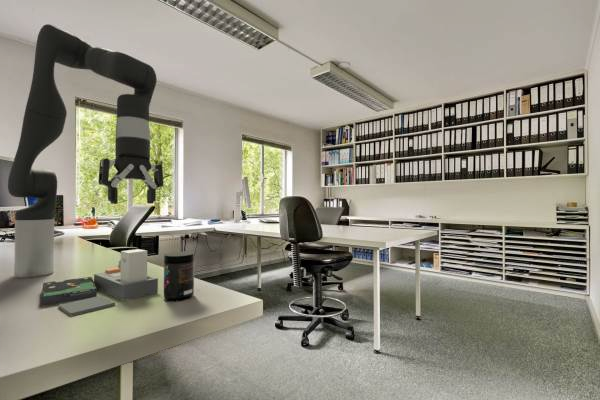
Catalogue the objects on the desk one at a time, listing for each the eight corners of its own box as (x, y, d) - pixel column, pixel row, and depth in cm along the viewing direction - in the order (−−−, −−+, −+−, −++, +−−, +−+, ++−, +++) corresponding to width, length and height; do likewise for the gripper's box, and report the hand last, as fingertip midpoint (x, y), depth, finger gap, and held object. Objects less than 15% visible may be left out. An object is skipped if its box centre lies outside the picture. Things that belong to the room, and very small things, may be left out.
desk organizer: (85, 283, 83) (85, 268, 83) (117, 277, 89) (117, 263, 89) (123, 300, 68) (123, 281, 68) (157, 292, 75) (157, 275, 75)
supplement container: (178, 292, 75) (178, 250, 75) (200, 295, 73) (200, 252, 73) (156, 300, 69) (157, 255, 69) (179, 303, 66) (179, 257, 66)
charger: (120, 283, 74) (120, 251, 74) (138, 280, 77) (139, 249, 77) (128, 286, 71) (128, 253, 71) (147, 282, 74) (147, 250, 75)
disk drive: (42, 293, 76) (40, 309, 64) (42, 282, 76) (40, 295, 64) (91, 286, 82) (98, 298, 71) (91, 276, 82) (98, 287, 71)
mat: (58, 307, 64) (58, 304, 64) (100, 298, 70) (100, 295, 70) (70, 316, 59) (70, 313, 59) (115, 305, 65) (115, 302, 65)
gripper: (154, 144, 82) (154, 203, 82) (94, 135, 71) (94, 203, 71) (168, 141, 77) (168, 203, 77) (106, 130, 66) (106, 203, 66)
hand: (132, 203), depth 74 cm, fingers open, 8 cm apart
